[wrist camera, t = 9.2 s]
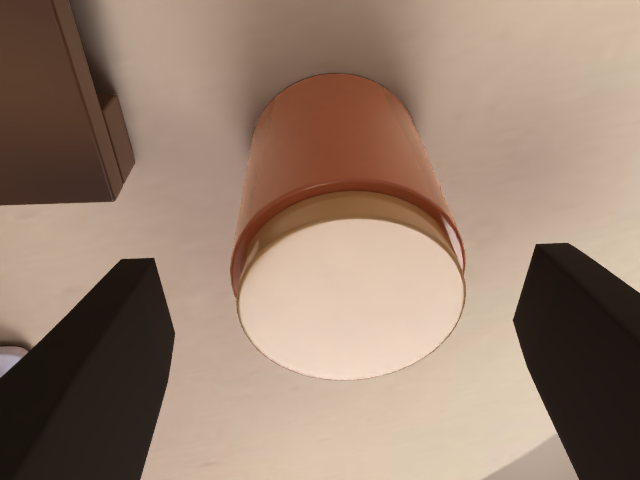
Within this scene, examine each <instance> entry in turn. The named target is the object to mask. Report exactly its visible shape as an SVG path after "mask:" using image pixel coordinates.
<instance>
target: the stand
mask: <svg viewBox="0 0 640 480" xmlns="http://www.w3.org/2000/svg"><path fill="white" fill-rule="evenodd" d="M134 164H135V160H134V156H133V153H132V149H131V145H130V142H129V138H128V134H127V130H126V127H125V123H124V119H123V116H122V112H121V108H120V104H119V101H118V97H117V95H115V94H110V95H96V91H95V88H94V84H93V81H92V78H91V74H90V71H89V67H88V64H87V61H86V57H85V54H84V50H83V47H82V44H81V40H80V37H79V34H78V30H77V27H76V23H75V20H74V17H73V13H72V10H71V6H70V3H69V0H0V205H26V204H58V203H90V202H114V201H115V200H116V198H117V197H118V195H119V193H120V191H121V189H122V187H123V184H124V183H125V181H126V179H127V177H128V175H129V174H130V172H131V170H132V168H133V166H134Z"/></svg>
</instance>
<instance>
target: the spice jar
mask: <svg viewBox="0 0 640 480" xmlns="http://www.w3.org/2000/svg"><path fill="white" fill-rule="evenodd" d="M464 271H465V250H464V245H463V241H462V238H461V236H460V233H459V231H458V228H457V226H456V224H455V221H454V219H453V216H452V214H451V212H450V209H449V207H448V205H447V202H446V200H445V197H444V195H443V193H442V190H441V188H440V185H439V183H438V181H437V178H436V176H435V173H434V171H433V169H432V166H431V164H430V161H429V159H428V157H427V154H426V152H425V149H424V147H423V145H422V142H421V140H420V137H419V135H418V133H417V130H416V128H415V125H414V123H413V121H412V118H411V116H410V114H409V113H408V111H407V109H406V108H405V106H404V105H403V104H402V103H401V101H400V100H399V99H398V98H397V97H396V96H395V95H394V94H393V93H391V92H390V91H389V90H388V89H386V88H385V87H383V86H381V85H380V84H378V83H376V82H374V81H371V80H369V79H366V78H363V77H360V76H355V75H349V74H324V75H319V76H314V77H310V78H307V79H305V80H302V81H299V82H297V83H295V84H293V85H292V86H290V87H288V88H287V89H285V90H284V91H282V92H281V93H279V94H278V95H277V96H276V97H275V98H274V99H273V100H272V101H271V102H270V103H269V104H268V106H267V107H266V108H265V109H264V111H263V112H262V114H261V116H260V117H259V119H258V121H257V124H256V126H255V128H254V132H253V136H252V140H251V146H250V152H249V158H248V163H247V169H246V175H245V181H244V187H243V193H242V198H241V204H240V210H239V216H238V222H237V228H236V233H235V239H234V245H233V251H232V257H231V266H230V277H231V285H232V288H233V292H234V295H235V297H236V305H237V313H238V317H239V321H240V324H241V326H242V328H243V330H244V332H245V334H246V336H247V337H248V339H249V340H250V342H251V343H252V344H253V345H254V346H255V347H256V348H257V350H258V351H260V352H261V353H262V354H263V355H264V356H266V357H267V358H268V359H270V360H271V361H273V362H274V363H276V364H278V365H280V366H282V367H284V368H286V369H288V370H291V371H293V372H296V373H299V374H302V375H306V376H310V377H314V378H320V379H328V380H360V379H367V378H374V377H378V376H382V375H386V374H390V373H393V372H396V371H399V370H401V369H403V368H406V367H408V366H410V365H412V364H414V363H416V362H418V361H420V360H421V359H423V358H424V357H426V356H427V355H429V354H430V353H432V352H433V351H434V350H435V349H436V348H438V347H439V346H440V345H441V344H442V343H443V342H444V341H445V340H446V339H447V338H448V336H449V335H450V334H451V332H452V331H453V330H454V328H455V327H456V325H457V323H458V321H459V319H460V317H461V314H462V311H463V308H464V304H465V296H466V286H465V279H464Z"/></svg>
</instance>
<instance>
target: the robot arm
mask: <svg viewBox="0 0 640 480" xmlns="http://www.w3.org/2000/svg"><path fill="white" fill-rule="evenodd" d="M513 322H514V325H515V329H516V332H517V336H518V339H519V343H520V346H521V349H522V352H523V355H524V358H525V361H526V365H527V368H528V370H529V372H530V374H531V377H532V379H533V381H534V383H535V385H536V388H537V390H538V392H539V394H540V396H541V399H542V401H543V403H544V405H545V407H546V409H547V412H548V414H549V416H550V418H551V420H552V422H553V424H554V427H555V429H556V431H557V433H558V435H559V437H560V439H561V442H562V444H563V446H564V448H565V450H566V452H567V454H568V456H569V459H570V461H571V463H572V465H573V467H574V469H575V471H576V473H577V476H578V478H579V480H640V293H639V292H637V291H636V290H635V289H633V288H632V287H630V286H629V285H628V284H626V283H625V282H624V281H622V280H621V279H619V278H618V277H617V276H615V275H614V274H612V273H611V272H610V271H608V270H607V269H606V268H604V267H603V266H601V265H600V264H598V263H597V262H596V261H594V260H593V259H591V258H590V257H589V256H587V255H586V254H584V253H583V252H581V251H580V250H578V249H577V248H575V247H574V246H572V245H570V244H569V243H552V244H536V246H535V249H534V252H533V256H532V259H531V262H530V266H529V269H528V272H527V276H526V279H525V282H524V285H523V289H522V292H521V295H520V299H519V302H518V305H517V309H516V312H515V315H514V318H513ZM174 337H175V331H174V328H173V324H172V321H171V317H170V313H169V310H168V306H167V303H166V299H165V295H164V292H163V288H162V285H161V281H160V277H159V274H158V270H157V267H156V263H155V259H154V258H139V259H121V260H120V261H119V262H118V263H117V264H116V265H115V266H114V267H113V268H112V269H111V270H110V271H109V272H108V273H107V274H106V275H105V276H104V277H103V278H102V279H101V280H100V281H99V282H98V283H97V284H96V285H95V286H94V288H93V289H92V290H91V291H90V292H89V293H88V294H87V295H86V296H85V297H84V298H83V299H82V300H81V301H80V302H79V303H78V304H77V305H76V306H75V307H74V308H73V309H72V310H71V311H70V312H69V313H68V314H67V315H66V316H65V317H64V318H63V319H62V320H61V321H60V322H59V323H58V324H57V325H56V326H55V327H54V328H53V329H52V330H51V331H50V332H49V333H48V334H47V335H46V336H45V337H44V338H43V339H42V340H41V341H40V342H39V343H38V344H37V345H36V346H35V347H33V348H32V349H31V350H30V351H29V352H28V351H27V350H25V349H24V348H21V347H16V346H6V347H0V480H140V479H141V475H142V472H143V468H144V465H145V461H146V458H147V454H148V451H149V447H150V444H151V440H152V437H153V433H154V430H155V426H156V423H157V419H158V416H159V412H160V409H161V405H162V401H163V398H164V394H165V390H166V387H167V383H168V378H169V371H170V365H171V359H172V352H173V345H174Z"/></svg>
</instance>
